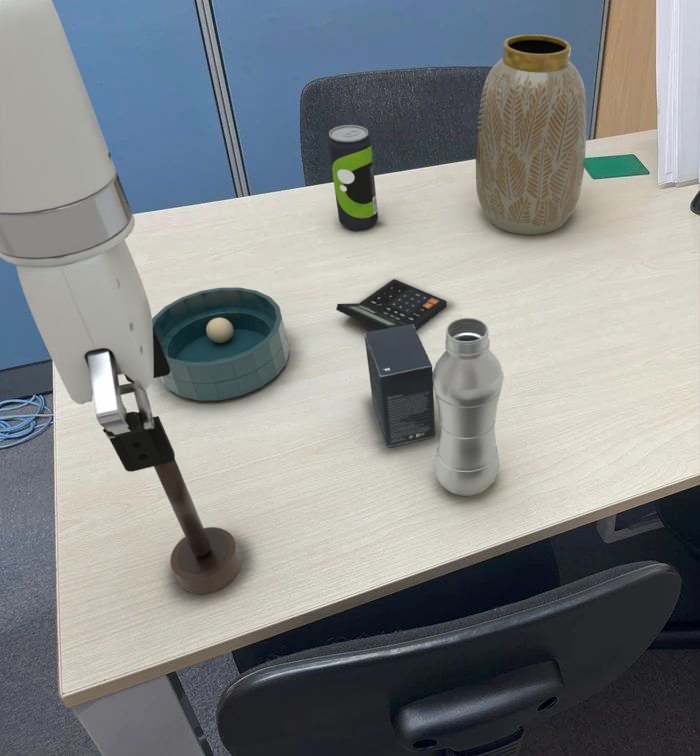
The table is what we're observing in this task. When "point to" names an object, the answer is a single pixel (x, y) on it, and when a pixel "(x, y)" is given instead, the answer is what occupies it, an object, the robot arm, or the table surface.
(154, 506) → the table surface
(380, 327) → the calculator
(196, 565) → the brown plunger
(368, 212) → the beverage can
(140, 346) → the robot arm
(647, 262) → the table surface
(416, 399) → the box
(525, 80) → the vase
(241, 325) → the bowl
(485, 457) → the plastic bottle
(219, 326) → the ball
